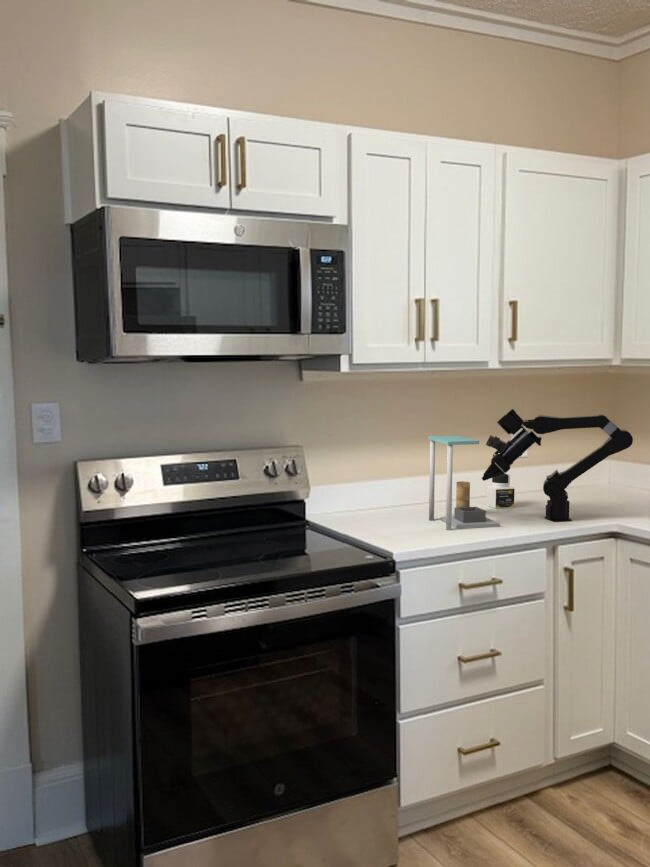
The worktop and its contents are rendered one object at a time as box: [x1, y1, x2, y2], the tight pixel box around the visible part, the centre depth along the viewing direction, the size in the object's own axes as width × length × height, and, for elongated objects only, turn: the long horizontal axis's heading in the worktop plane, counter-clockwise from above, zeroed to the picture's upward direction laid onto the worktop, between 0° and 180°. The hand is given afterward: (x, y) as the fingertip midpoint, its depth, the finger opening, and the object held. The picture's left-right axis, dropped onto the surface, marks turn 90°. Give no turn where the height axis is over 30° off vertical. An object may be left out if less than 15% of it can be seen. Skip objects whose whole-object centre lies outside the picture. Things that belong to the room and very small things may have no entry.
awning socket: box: [427, 435, 501, 531], centre depth 272 cm, size 18×17×27 cm
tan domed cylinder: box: [455, 480, 471, 508], centre depth 287 cm, size 4×4×11 cm
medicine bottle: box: [486, 472, 516, 510], centre depth 303 cm, size 7×7×12 cm
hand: (483, 477), depth 285 cm, fingers open, 9 cm apart
